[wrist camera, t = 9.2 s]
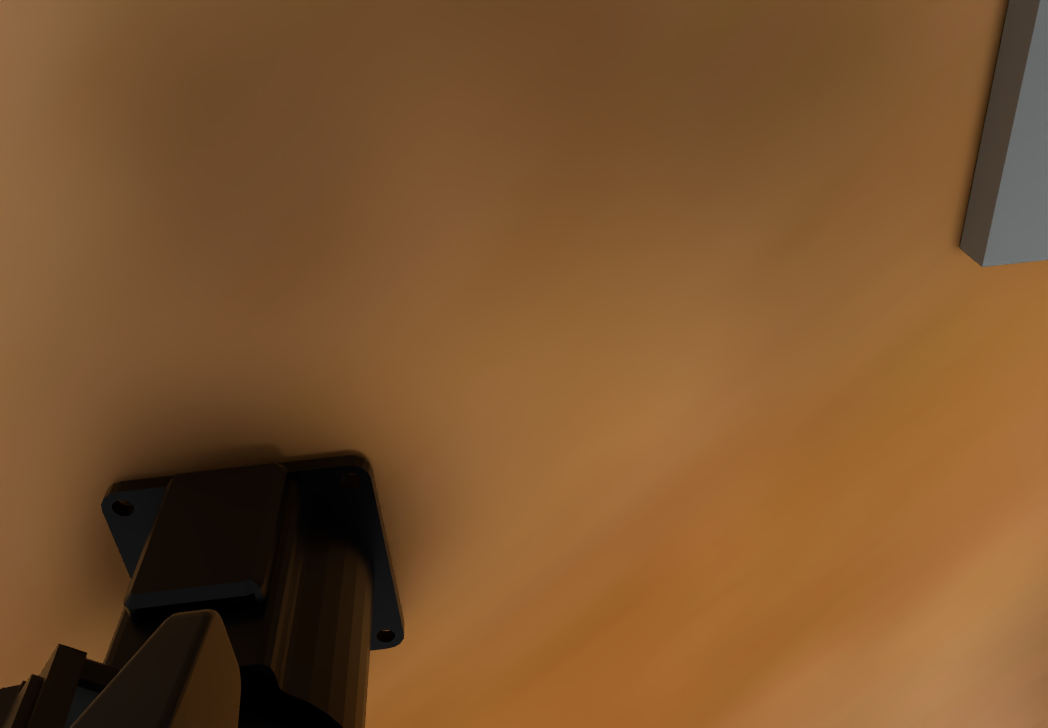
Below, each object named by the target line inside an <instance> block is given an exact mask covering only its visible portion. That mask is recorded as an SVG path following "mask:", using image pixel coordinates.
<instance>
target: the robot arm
mask: <svg viewBox="0 0 1048 728" xmlns="http://www.w3.org/2000/svg"><path fill="white" fill-rule="evenodd" d="M349 473H351V474H356V475H358V476H359V478H357V479H354V480H353V479H347V478H346V477H344V475H346V474H349ZM118 500H126V501H128V502H130V503H131V504H132V505H124V504H122V503H120V502H119V501H118ZM101 507H102V512H103V514H104V516H105V519H106V521H107V523H108V526H109V528H110V530H111V533H112V535H113V537H114V540H115V542H116V544H117V547H118V549H119V552H120V554H121V556H122V559H123V561H124V563H125V566H126V568H127V570H128V573H129V575H130V577H131V582H130V585H129V587H128V590H127V593H126V595H125V598H124V609H123V612H122V614H121V617H120V620H119V622H118V625H117V628H116V630H115V633H114V636H113V638H112V641H111V644H110V646H109V649H108V652H107V654H106V657H105V659H104V662H103V664H102V663H99V662H96V661H93V660H90V659H87V658H86V655H87V653H86V652H83V651H80V650H77V649H74V648H71V647H68V646H65V645H62V644H58V646H57V647H56V649H55V650H54V652H53V654H52V655H51V657H50V659H49V660H48V662H47V664H46V665H45V667H44V669H43V670H42V672H41V673H40V675H39V676H37V675H33V674H32V675H31V676H30V677H29V679H28V680H27V682H26V681H23V682H22V683H21V685H17V686H12V687H7V688H2V689H0V728H365V717H366V702H367V687H368V671H369V656H370V650H378V649H387V648H391V647H395V646H397V645H398V644H400V643H401V642H402V640H403V639H404V619H403V614H402V610H401V605H400V600H399V595H398V590H397V586H396V581H395V576H394V571H393V566H392V562H391V557H390V552H389V547H388V542H387V538H386V533H385V528H384V523H383V518H382V514H381V509H380V504H379V499H378V494H377V490H376V485H375V480H374V475H373V470H372V468H371V465H370V463H369V462H367V461H366V460H365V459H364V458H361V457H359V456H350V455H348V456H339V457H331V458H322V459H313V460H305V461H296V462H287V463H279V464H276V463H271V464H262V465H253V466H245V467H236V468H227V469H219V470H210V471H201V472H192V473H184V474H177V475H174V476H166V477H157V478H148V479H140V480H131V481H122V482H118V483H115V484H113V485H112V486H110V487H109V488H108V490H107V492H106V494H105V497H104V499H103V501H102V504H101ZM382 630H390V631H382Z"/></svg>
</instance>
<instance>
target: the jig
mask: <svg viewBox="0 0 1048 728" xmlns="http://www.w3.org/2000/svg"><path fill="white" fill-rule="evenodd" d="M960 249H961V250H962V251H964V252H965V253H966V254H967V255H968V256H970V257H971V258H972V259H973V260H974V261H976V262H977V263H978V264H979V265H980V266H982V267H986V266H995V265H1004V264H1014V263H1023V262H1032V261H1041V260H1048V0H1009V4H1008V9H1007V14H1006V19H1005V24H1004V29H1003V34H1002V39H1001V44H1000V49H999V54H998V59H997V64H996V69H995V74H994V79H993V84H992V89H991V94H990V99H989V104H988V109H987V114H986V119H985V124H984V129H983V134H982V139H981V144H980V149H979V154H978V159H977V164H976V169H975V174H974V179H973V184H972V189H971V194H970V199H969V204H968V209H967V214H966V219H965V224H964V229H963V234H962V239H961V244H960Z"/></svg>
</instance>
